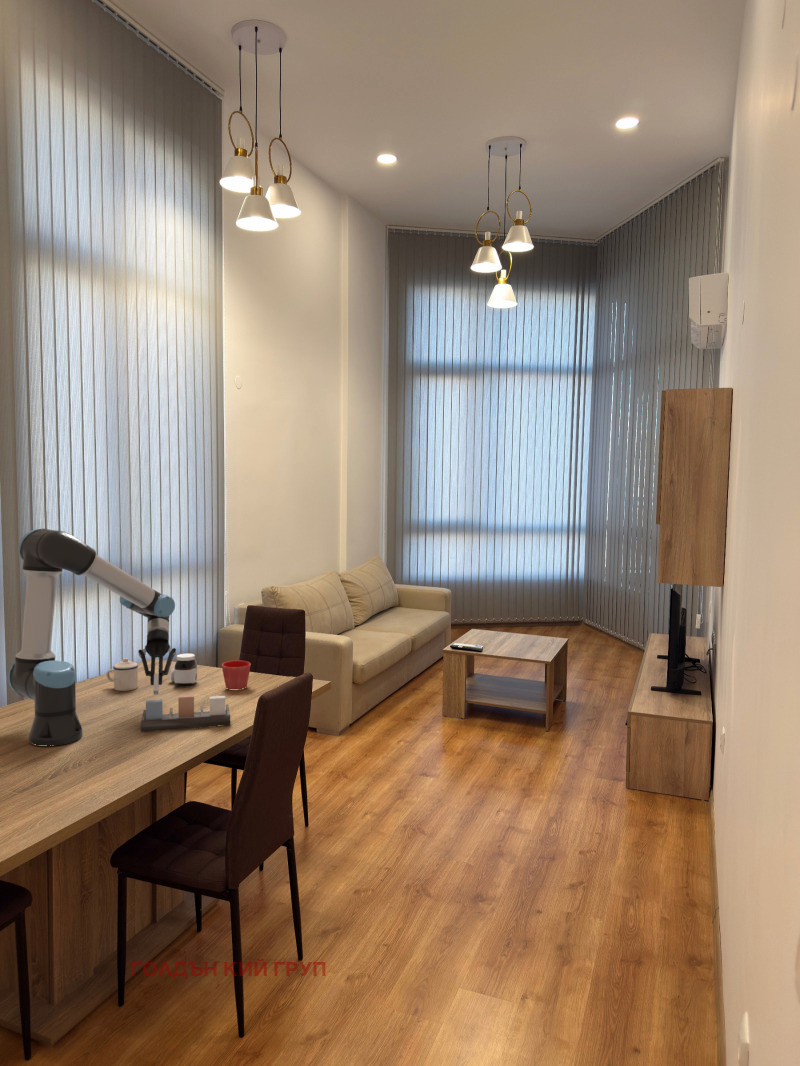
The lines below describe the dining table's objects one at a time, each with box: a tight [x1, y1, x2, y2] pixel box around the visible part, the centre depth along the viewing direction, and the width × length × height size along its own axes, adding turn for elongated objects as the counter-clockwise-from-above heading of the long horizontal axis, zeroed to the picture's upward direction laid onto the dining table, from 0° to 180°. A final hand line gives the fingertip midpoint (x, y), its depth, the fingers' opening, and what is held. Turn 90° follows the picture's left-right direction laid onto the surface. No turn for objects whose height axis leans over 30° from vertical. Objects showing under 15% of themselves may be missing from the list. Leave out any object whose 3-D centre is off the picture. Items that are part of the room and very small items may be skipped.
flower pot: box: [221, 659, 252, 689], centre depth 291 cm, size 11×11×10 cm
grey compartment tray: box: [140, 704, 231, 733], centre depth 250 cm, size 12×28×4 cm, turn 105°
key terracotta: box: [177, 694, 195, 718], centre depth 250 cm, size 2×5×7 cm, turn 105°
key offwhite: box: [209, 695, 226, 716], centre depth 249 cm, size 2×5×7 cm, turn 105°
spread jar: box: [168, 653, 198, 688], centre depth 297 cm, size 12×11×12 cm
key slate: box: [145, 699, 164, 720], centre depth 244 cm, size 2×5×7 cm, turn 105°
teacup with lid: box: [106, 657, 139, 692], centre depth 290 cm, size 12×9×12 cm
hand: (155, 692), depth 254 cm, fingers closed
